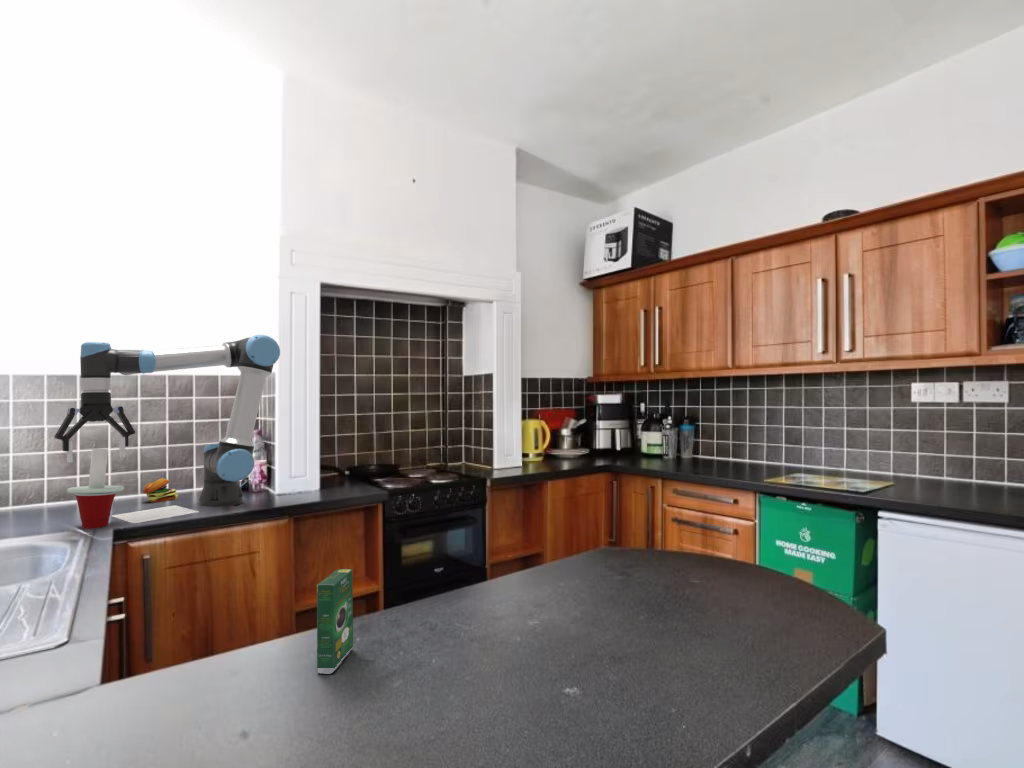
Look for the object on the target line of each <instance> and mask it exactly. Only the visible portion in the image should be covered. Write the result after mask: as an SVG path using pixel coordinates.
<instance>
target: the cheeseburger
mask: <svg viewBox="0 0 1024 768" xmlns="http://www.w3.org/2000/svg"><path fill="white" fill-rule="evenodd" d="M169 483H171V481H170V480H169V479H167V478H163V477H162V478H159V479H157V480H155V481H153V482H149V483H146V484H145V486H144V487H143V489H142V490H143V491H142V492H143V495H146V496H147V499H148V500H149V502H150V503H152V504H158V503H165V502H168V501H176V500H177V499H178V498H179V494H178V491H177V489H176V488H174V487H167V485H168V484H169Z"/></svg>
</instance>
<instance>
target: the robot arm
mask: <svg viewBox="0 0 1024 768" xmlns="http://www.w3.org/2000/svg"><path fill="white" fill-rule="evenodd" d="M280 356H281V348H280V345H279V344H278V342H277V340H275V339H274V338H273V337H272V336H269V335H265V334H254V335H252V336H250V337H246V338H242V339H239V340H236V341H229V342H223V343H222V344H221V345H212V346H196V347H185V348H183V347H182V348H173V349H172V348H171V349H170V348H169V349H160V350H159V349H158V350H144V349H141V350H140V349H139V350H138V349H115V348H114V349H112V346H111V344H110V343H108V342H100V341H95V342H94V341H88V342H87V341H86V342H83V343H82V344H81V345H80V357H79V358H80V360H79V361H80V362H79V363H80V391H82V392H81V393H80V407H79V408H75V407H68V409H67V413H66V414H67V415H66V417H65V418H64V420H63V421H62V423H61V425H60V427H59V428H58V430H57V431H56V433H55V435H54V439H56V440H60V441H61V442H62V444H61V445H62V451H63V452H66V462H67V463H74V462H73V459H74V458H73V456H74V454H73V453H74V452H73V440H70V439H71V438H72V437H73V436H74V435H76V434H77V432H78V431H79V430H80V429H81V428H82V427H84V425H85V424H86V423H87V422H90V423H92V422H93V423H94V422H104V421H105V422H107V423H108V424H109V425H110V426H111V427H112V428H114V430H115V431H116V432H118V433H119V434H120V435H121V436H119V437H118V441H119V443H118V445H119V447H118V448H119V452H118V455H119V456H118V457H120V458H126V447H128V446H129V437H130V436H132V435H134V434H136V431H135V429H134V427H133V425H132V424H131V422H130V421H129V418H128V417H127V416H126V414H125V412H124V407H123V406H119V405H118V406H115V407H113V406H112V393H111V392H110V391H111V390H112V383H111V381H112V379H111V377H112V376H111V374H113V373H114V374H121V375H124V376H129V375H130V376H131V375H135V374H136V375H137V374H138V375H139V374H152V373H155V372H156V373H157V372H165V371H166V372H167V371H176V370H187V369H189V370H190V369H198V368H199V369H200V368H208V367H219V366H225V367H226V368H237V369H238V370H239V373H240V376H239V379H238V384H237V388H236V392H235V396H234V400H233V404H232V408H231V413H230V417H229V421H228V423H227V424H228V425H227V428H226V434H225V436H224V437H223V438H222V439H220V440H219V442H218V443H210V444H207V445H205V446H204V448H203V453H202V455H203V487H202V490H201V493H200V496H199V498H198V505H199V506H201V507H219V506H229V505H230V506H238V505H241V504H243V503H244V501H245V499H244V493H243V491H242V488H241V486H240V483H239V482H240V481H242V480H245V479H246V478H248V477H249V476H250V475H251V474H252V472H253V469H254V468H255V459H254V456H253V455H254V449H255V445H254V443H253V442H252V438H253V434H254V430H255V426H256V421H257V417H258V413H259V410H260V409H259V408H260V405H261V400H262V397H263V396H262V395H263V391H264V386H265V384H266V379H267V378H268V377H269V376H271V375H272V373H273V368H274V365H275V364H276V363H277V362H278V360H279V358H280ZM113 412H114V413H115V414H116V415H117V417H118V418H119V420H120V422H121V424H122V425H123V427H122V426H121V425H120V424H119V423H118V422H117V421H116V420H114V418H113V417H112V416H111V414H112V413H113ZM78 413H79V414H80V415H81V417H80V418H79V419H78V421H76V423H75V424H74V425H73V426H71V428H70V429H69V430H68V428H69V427H70V425H71V423H72V422H73V420H74V417H75V416H77V415H78ZM124 428H125V429H126V430H125V429H124ZM67 430H68V431H67ZM66 431H67V432H66Z"/></svg>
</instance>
